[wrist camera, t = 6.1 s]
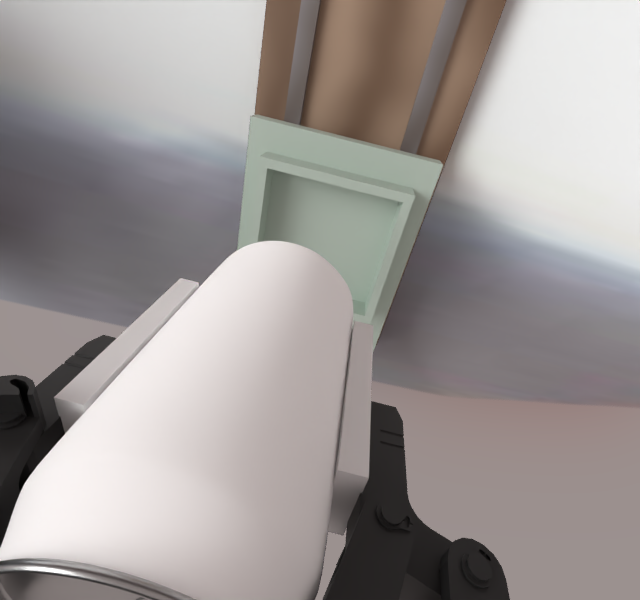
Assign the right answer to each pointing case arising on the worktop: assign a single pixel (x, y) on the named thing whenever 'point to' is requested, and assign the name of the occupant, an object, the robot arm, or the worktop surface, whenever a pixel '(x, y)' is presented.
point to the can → (201, 450)
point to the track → (375, 68)
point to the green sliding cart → (337, 205)
